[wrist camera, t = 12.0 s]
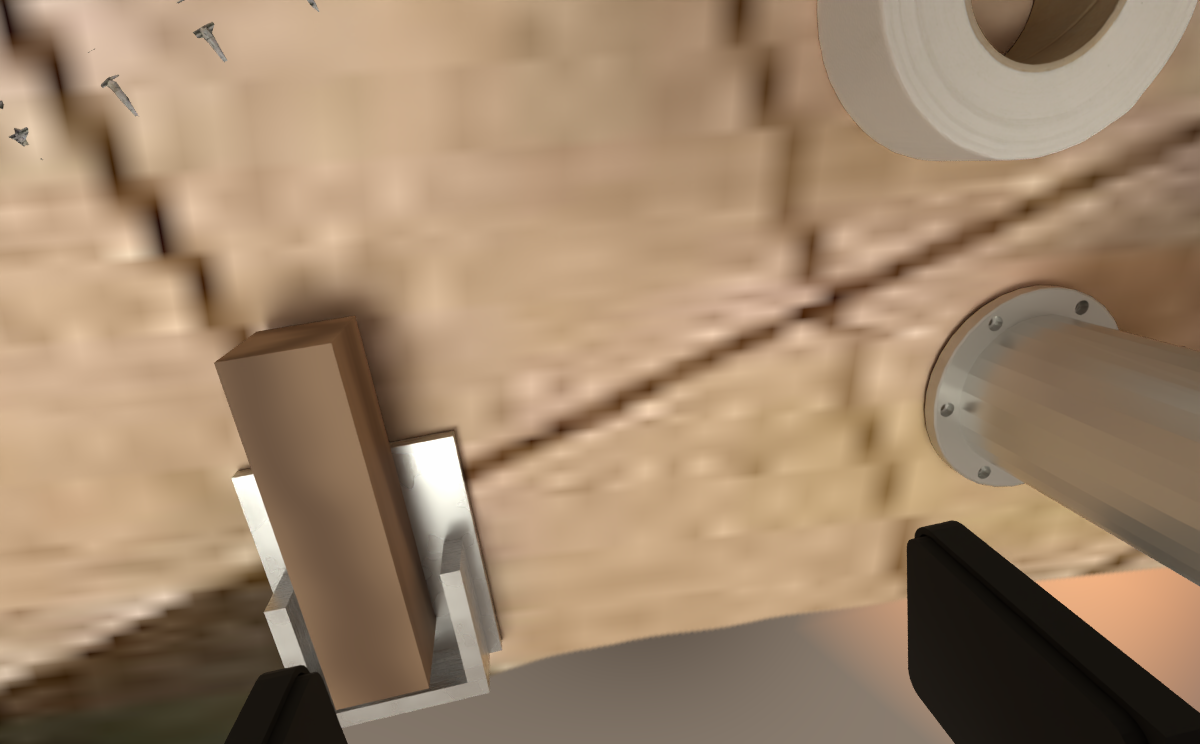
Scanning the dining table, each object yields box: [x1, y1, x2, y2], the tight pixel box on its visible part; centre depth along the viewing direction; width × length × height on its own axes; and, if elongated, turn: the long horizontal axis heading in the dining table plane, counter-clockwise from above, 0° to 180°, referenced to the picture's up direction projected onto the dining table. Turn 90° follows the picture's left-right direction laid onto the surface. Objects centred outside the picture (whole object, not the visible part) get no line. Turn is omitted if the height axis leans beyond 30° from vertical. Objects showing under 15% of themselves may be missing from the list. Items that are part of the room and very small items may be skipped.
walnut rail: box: [214, 316, 436, 710], centre depth 31 cm, size 4×18×5 cm, turn 8°
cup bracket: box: [231, 430, 502, 728], centre depth 34 cm, size 11×14×4 cm
